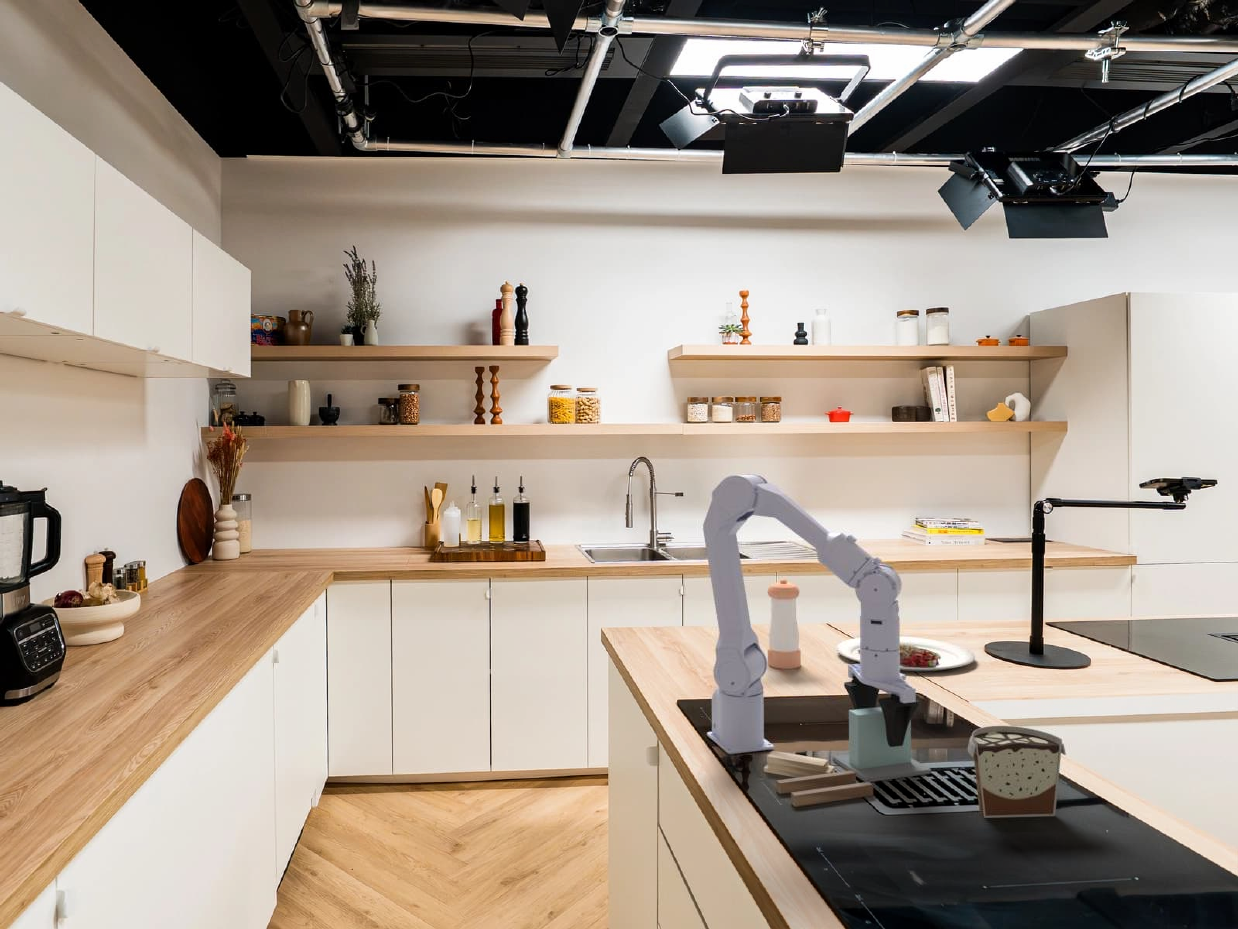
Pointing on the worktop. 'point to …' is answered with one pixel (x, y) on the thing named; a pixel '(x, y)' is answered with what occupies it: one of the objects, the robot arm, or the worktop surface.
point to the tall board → (874, 740)
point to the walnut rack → (824, 788)
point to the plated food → (918, 654)
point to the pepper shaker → (783, 626)
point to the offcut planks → (796, 765)
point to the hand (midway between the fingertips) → (880, 737)
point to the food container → (1016, 771)
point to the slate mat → (883, 769)
